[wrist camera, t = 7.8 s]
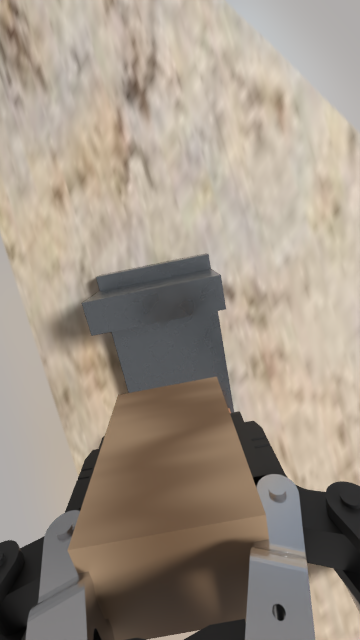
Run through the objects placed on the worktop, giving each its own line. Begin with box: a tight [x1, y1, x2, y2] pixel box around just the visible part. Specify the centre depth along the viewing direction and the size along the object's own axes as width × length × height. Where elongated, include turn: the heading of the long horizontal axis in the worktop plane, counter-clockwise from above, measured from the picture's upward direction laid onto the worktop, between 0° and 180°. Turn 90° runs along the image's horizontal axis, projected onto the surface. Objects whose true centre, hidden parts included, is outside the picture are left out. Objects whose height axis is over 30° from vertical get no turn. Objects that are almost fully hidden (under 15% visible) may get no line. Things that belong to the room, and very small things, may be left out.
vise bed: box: [82, 254, 234, 413], centre depth 29 cm, size 12×24×8 cm, turn 11°
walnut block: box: [67, 377, 269, 640], centre depth 11 cm, size 5×4×7 cm
